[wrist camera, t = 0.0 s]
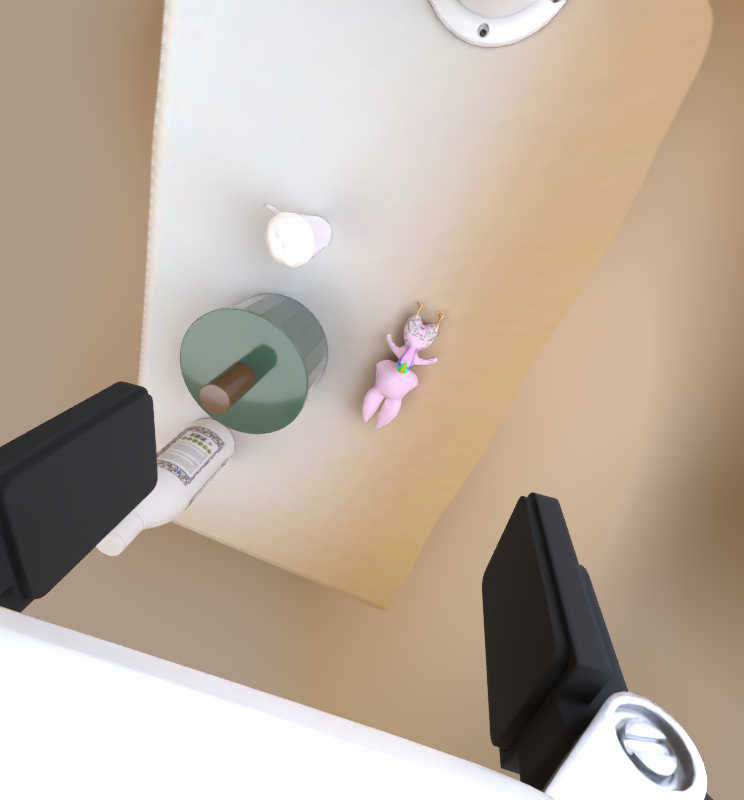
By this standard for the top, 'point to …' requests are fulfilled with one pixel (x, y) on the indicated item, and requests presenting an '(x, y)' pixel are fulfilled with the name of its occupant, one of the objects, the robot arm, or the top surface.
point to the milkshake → (295, 237)
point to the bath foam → (176, 480)
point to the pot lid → (244, 370)
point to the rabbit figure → (399, 370)
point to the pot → (295, 329)
